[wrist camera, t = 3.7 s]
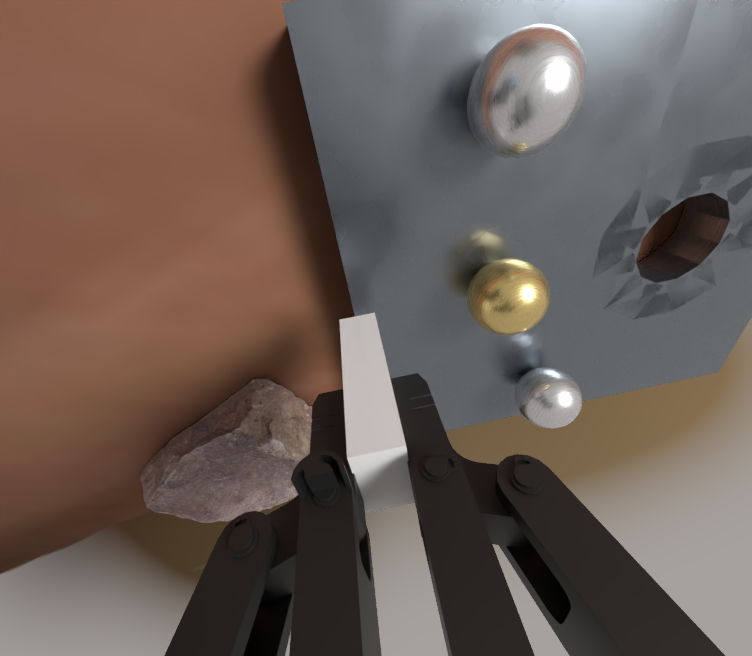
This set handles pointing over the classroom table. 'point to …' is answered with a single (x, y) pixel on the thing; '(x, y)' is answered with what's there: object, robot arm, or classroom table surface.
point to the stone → (232, 457)
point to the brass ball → (508, 296)
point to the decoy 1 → (527, 91)
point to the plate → (537, 189)
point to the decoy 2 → (548, 397)
